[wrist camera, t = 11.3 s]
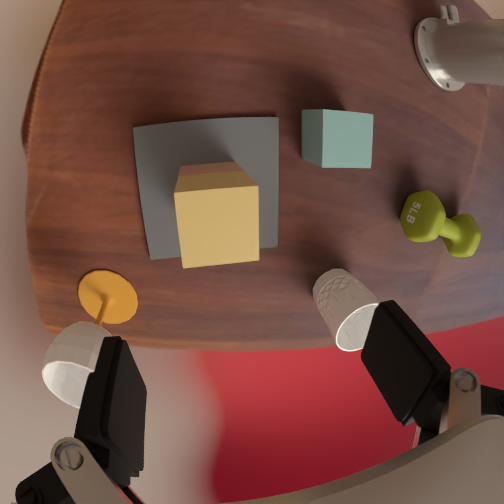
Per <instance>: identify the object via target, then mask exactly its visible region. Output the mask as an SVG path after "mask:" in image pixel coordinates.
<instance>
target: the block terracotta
mask: <svg viewBox="0 0 504 504" xmlns="http://www.w3.org/2000/svg"><path fill="white" fill-rule="evenodd" d="M240 171H244V170H243V169H242V168H241V167H240V166H239V165H238V164H237V163H236V162H222V163H209V164H197V165H187V166H181V168H180V171H179V174H178V177H179V176H189V175H200V174H212V173H225V172H240Z"/></svg>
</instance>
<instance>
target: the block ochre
mask: <svg viewBox="0 0 504 504" xmlns="http://www.w3.org/2000/svg"><path fill="white" fill-rule="evenodd" d="M174 200H175V209H176V218H177V226H178V234H179V242H180V249H181V256H182V263H183V268H190V267H200V266H210V265H219V264H229V263H238V262H248V261H257V260H259V194H258V185H257V184H256V183H255V182H254V181H253V180H252V179H251V178H250V177H249V175H248V174H247V173H246V172H245V171H240V172H225V173H212V174H200V175H189V176H179V177H178V179H177V183H176V187H175V190H174Z"/></svg>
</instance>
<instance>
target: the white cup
mask: <svg viewBox="0 0 504 504" xmlns="http://www.w3.org/2000/svg"><path fill="white" fill-rule="evenodd" d="M313 299H314V300H315V302H316V304H317V306H318V308H319V311H320V313H321V315H322V317H323V319H324V321H325V323H326V325H327V327H328V329H329V331H330V333H331V335H332V337H333V338H334V340H335V342H336V344H337V346H338V347H339V348H340V349H342V350H344V351H355V350H359V349H362V348H363V346H364V343H365V340H366V337H367V334H368V331H369V327H370V324H371V321H372V317H373V314H374V310H375V308H376V307H377V306H378V304H379V303H381V302H380V301H379V300H378V299H377V298H376V297H375V296H374V295H373V294H372V293H371V292H370V291H369V290H368V289H367V288H366V287H365V286H364V285H363V284H362V283H361V282H360V281H358V280H357V279H356V278H355V277H354V276H352V275H351V274H350V273H349V272H348V271H346V270H344V269H342V268H339V269H331V270H329V271H327V272H325V273H323V274H322V275H321V276H320V277H319V278H318V279H317V280H316V283H315V285H314V287H313Z"/></svg>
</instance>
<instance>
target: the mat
mask: <svg viewBox="0 0 504 504" xmlns="http://www.w3.org/2000/svg"><path fill="white" fill-rule="evenodd" d="M133 135H134V147H135V158H136V167H137V176H138V184H139V192H140V199H141V206H142V213H143V219H144V226H145V232H146V237H147V243H148V248H149V254H150V259H151V260H155V259H164V258H174V257H182V256H181V249H180V242H179V234H178V226H177V218H176V209H175V200H174V190H175V187H176V183H177V179H178V174H179V171H180V168H181V166H187V165H197V164H209V163H222V162H236V163H237V164H238V165H239V166H240V167H241V168H242V169H243V170H244V171H245V172H246V173H247V174H248V175H249V177H250V178H251V179H252V180H253V181H254V182H255V183H256V184H257V185H258V194H259V249H261V248H271V247H278V201H279V117H239V118H217V119H202V120H190V121H179V122H170V123H162V124H154V125H147V126H140V127H134V128H133Z"/></svg>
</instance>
